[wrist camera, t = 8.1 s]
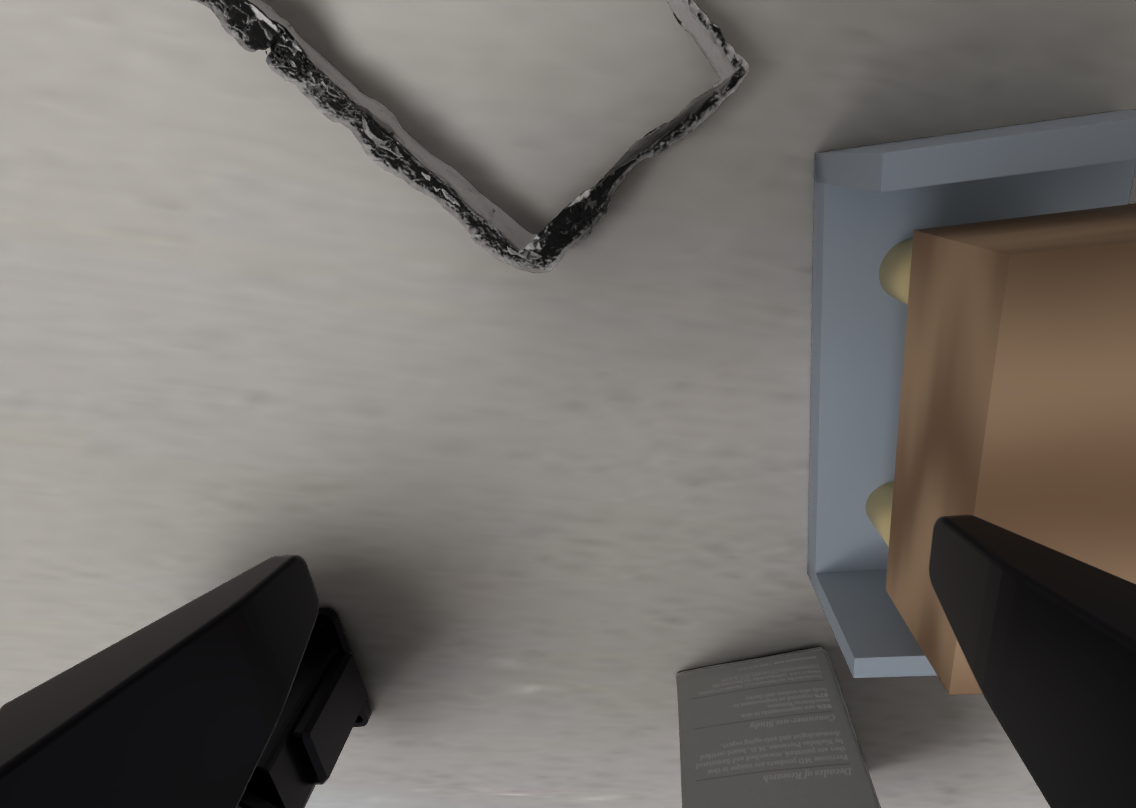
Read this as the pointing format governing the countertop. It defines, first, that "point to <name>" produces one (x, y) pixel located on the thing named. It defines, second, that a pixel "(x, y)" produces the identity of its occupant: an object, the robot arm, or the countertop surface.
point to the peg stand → (878, 326)
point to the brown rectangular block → (1016, 401)
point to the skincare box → (769, 736)
